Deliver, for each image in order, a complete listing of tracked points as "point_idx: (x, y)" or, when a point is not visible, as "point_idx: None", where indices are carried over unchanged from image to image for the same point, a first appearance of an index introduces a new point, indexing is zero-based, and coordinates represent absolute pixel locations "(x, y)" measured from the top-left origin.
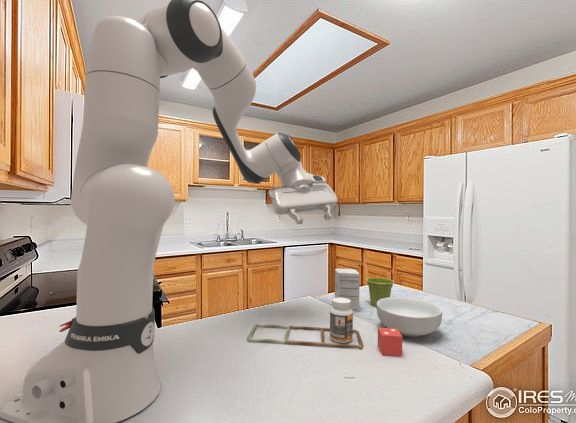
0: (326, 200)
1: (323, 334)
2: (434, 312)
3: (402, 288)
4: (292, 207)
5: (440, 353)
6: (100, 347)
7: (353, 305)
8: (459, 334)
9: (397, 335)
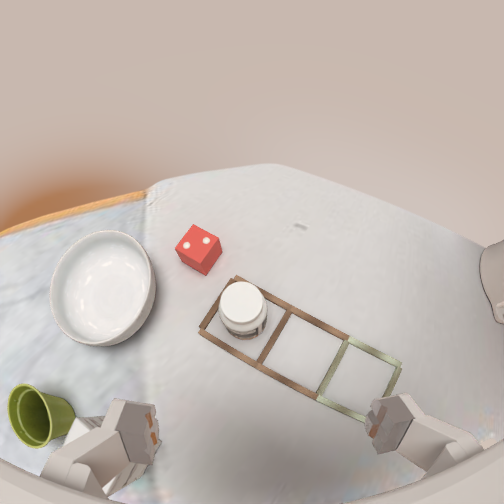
0: (38, 497)
1: (271, 339)
2: (67, 269)
3: None
4: (476, 456)
5: (144, 227)
6: None
7: None
8: None
9: (196, 229)
